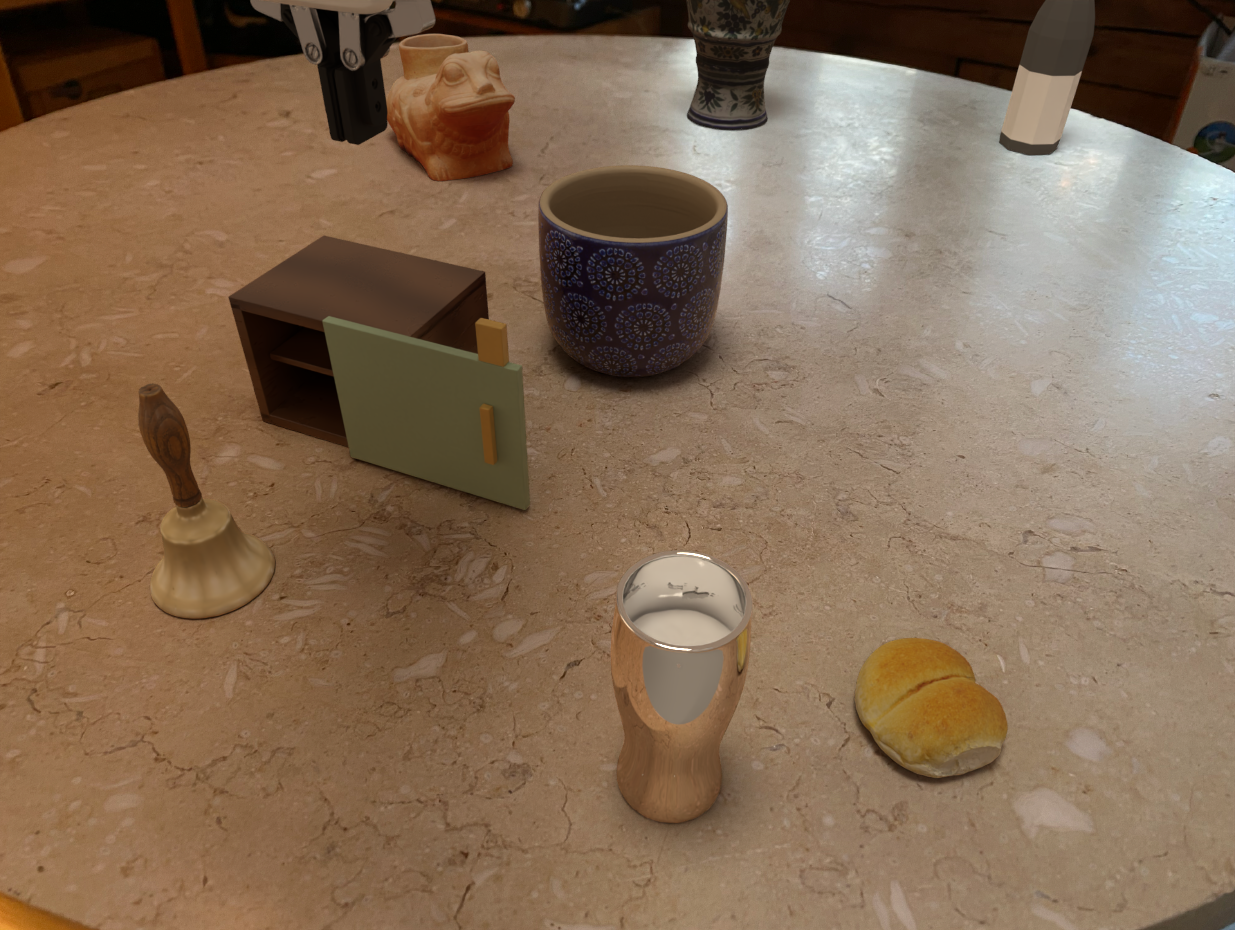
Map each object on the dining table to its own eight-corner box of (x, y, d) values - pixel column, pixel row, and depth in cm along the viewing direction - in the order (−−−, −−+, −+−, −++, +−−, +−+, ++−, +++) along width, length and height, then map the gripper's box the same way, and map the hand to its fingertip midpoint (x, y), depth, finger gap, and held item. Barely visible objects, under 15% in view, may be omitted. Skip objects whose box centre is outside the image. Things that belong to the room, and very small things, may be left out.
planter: (692, 411, 82) (705, 255, 73) (517, 377, 86) (507, 225, 77) (730, 320, 95) (746, 177, 85) (575, 294, 98) (574, 154, 89)
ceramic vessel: (442, 198, 117) (428, 73, 107) (373, 132, 134) (356, 20, 125) (542, 178, 122) (537, 57, 113) (463, 117, 140) (453, 8, 130)
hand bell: (293, 539, 69) (241, 354, 59) (247, 624, 63) (181, 434, 53) (184, 530, 70) (115, 346, 59) (128, 614, 63) (40, 423, 53)
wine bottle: (998, 151, 132) (1066, -94, 113) (997, 132, 138) (1062, -103, 119) (1059, 159, 130) (1138, -89, 111) (1055, 139, 136) (1130, -99, 118)
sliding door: (522, 515, 71) (510, 336, 61) (345, 461, 76) (308, 287, 66) (530, 504, 72) (520, 326, 62) (356, 451, 77) (320, 278, 67)
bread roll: (939, 647, 62) (953, 606, 59) (1021, 761, 55) (1042, 720, 53) (825, 675, 60) (836, 633, 57) (897, 796, 53) (912, 755, 51)
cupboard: (422, 470, 75) (403, 341, 68) (262, 421, 80) (227, 296, 73) (495, 392, 84) (485, 271, 77) (346, 353, 89) (323, 235, 81)
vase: (672, 96, 149) (683, -126, 130) (781, 101, 148) (808, -122, 129) (666, 132, 136) (677, -108, 117) (785, 138, 135) (816, -103, 116)
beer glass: (603, 729, 57) (604, 550, 47) (716, 720, 57) (740, 541, 48) (615, 837, 51) (619, 660, 42) (740, 825, 52) (772, 648, 42)
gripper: (98, -286, 41) (208, 136, 52) (390, -278, 36) (439, 181, 48) (219, -286, 46) (294, 97, 58) (486, -279, 42) (509, 134, 53)
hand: (360, 134), depth 53 cm, fingers closed
